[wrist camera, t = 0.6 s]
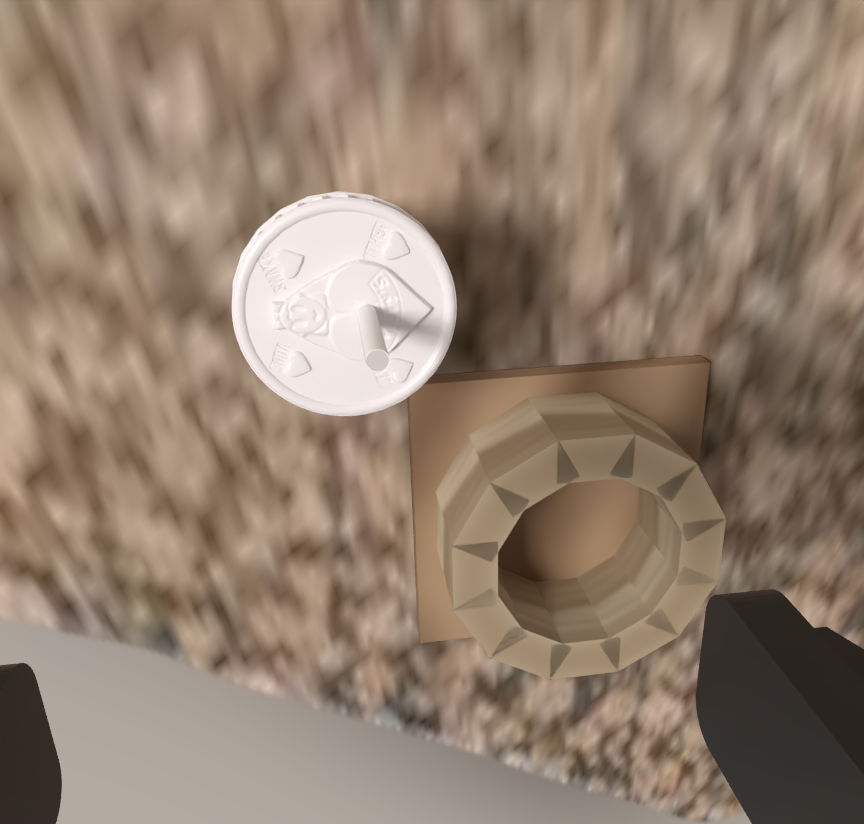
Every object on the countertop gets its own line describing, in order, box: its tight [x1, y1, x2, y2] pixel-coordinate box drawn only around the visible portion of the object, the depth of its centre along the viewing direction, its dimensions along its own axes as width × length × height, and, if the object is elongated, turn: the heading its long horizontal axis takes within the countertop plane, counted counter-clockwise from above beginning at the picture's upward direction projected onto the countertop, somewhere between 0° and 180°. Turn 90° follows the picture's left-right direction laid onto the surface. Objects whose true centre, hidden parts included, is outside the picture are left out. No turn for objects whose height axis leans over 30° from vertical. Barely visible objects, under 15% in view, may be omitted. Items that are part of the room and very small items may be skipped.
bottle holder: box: [407, 355, 726, 680], centre depth 34 cm, size 13×13×6 cm
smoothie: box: [232, 191, 457, 416], centre depth 24 cm, size 6×6×14 cm
